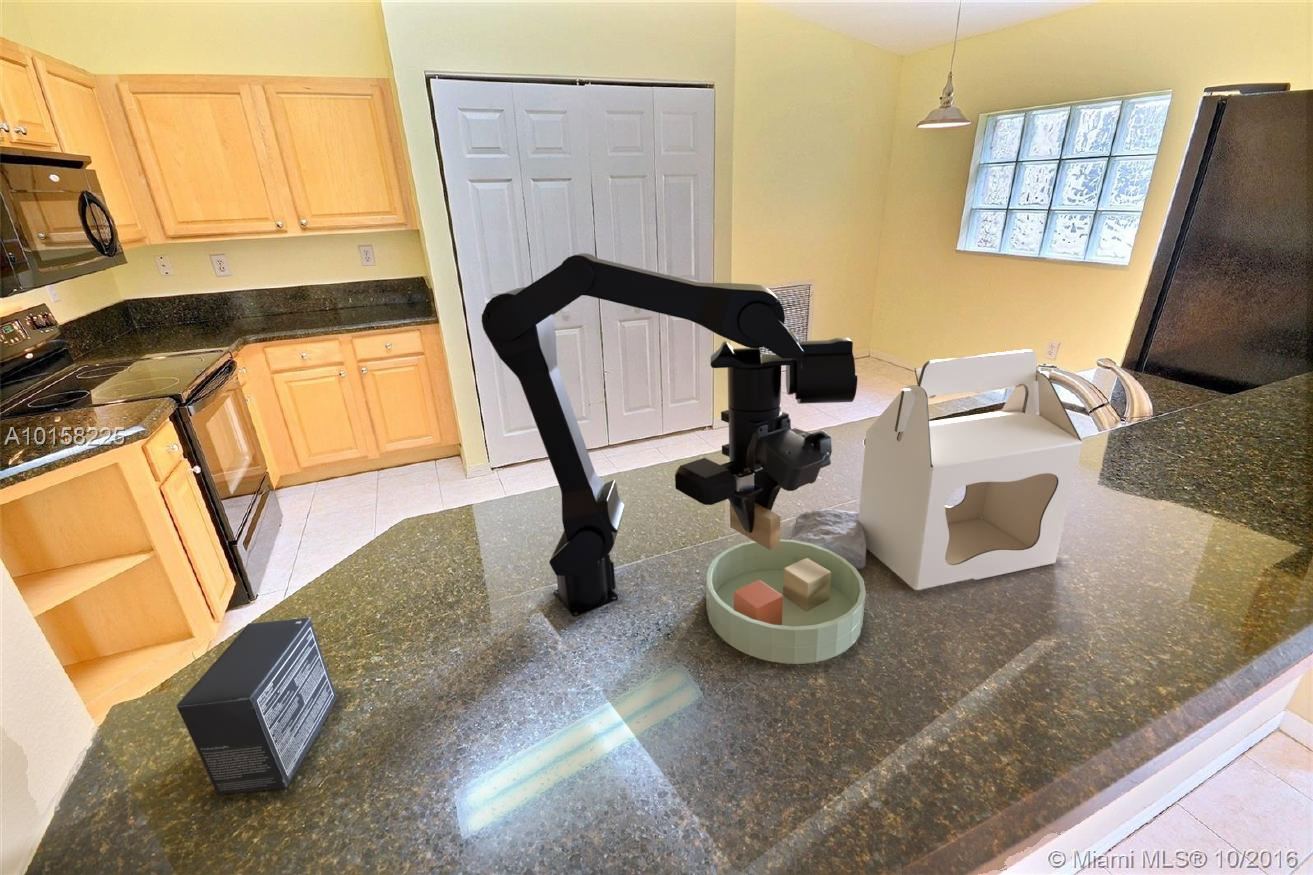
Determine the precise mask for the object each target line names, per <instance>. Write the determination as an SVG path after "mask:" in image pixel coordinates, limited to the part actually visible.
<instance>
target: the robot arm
mask: <svg viewBox="0 0 1313 875" xmlns="http://www.w3.org/2000/svg"><path fill="white" fill-rule="evenodd" d="M583 296H585V297H590V298H595V299H599V300H602V301H603V300H604V301H606V302H607V301H608V302H613V303H616V304H620V305H624V306H628V307H633V308H638V309H640V310H644V311H649V312H653V313H658V314H662V315H666V316H670V317H675V318H678V319H683V320H687V321H690V322H693V323H694V324H697V325H699V326H701V327H703V328H705V329H706V330H709V331H710V332H712V333H714V334H716V335H718V336H720V337H722V338H724V339H727V340H730V341H732V342H734V343H736V344H738V345H740V346H743V347H741V348H739V347H737V348H734V347H733V346H731V344H729V342H728V341H726V340H724V341H723V342H722V343H721V345H720V347H719V348H718V349H717V350H716V351H715V352H714V353H712V354H711V356H710V367H711V369H712V368H713V369H727V407H728V409H726V410H721V411H720V420H721V421H722V422H725V423H728V443H725V444H723V445H721V455H723V456H726V457H728V458H729V461H727V462H725V463H722V464H720V463H717V462H714V461H712V460H710V459H709V458H706V457H702V458H700V459H697V460H693V461H689V462H687V463H684V464H681V465H679V467H678V468H677V469H676V470H675V473H674V486H675V490H677V491H679V492H680V493H683V494H684V495H686V496H687V497H689V498H690V499H692V500H694V501H697V502H698V503H699V504H701V505H703V506H713V505H715V504H718V503H720V502H723V501H726V500H728V501H729V504H730V503H731V505H732V507H733V509H734V511H735V513H736V515H737V517H738V519H739V521H740V523H741V525H742V526H743V528H744V530H745V531H746V532H748V533H752V532H753V526H754V510H755V503H757V504H759V505H761V506H763V507H765V508H767V509H768V510H770V511H772V509H773V507H774V504H775V502H776V499H777V497H778V495H779V493H780V491H781V489H783V490H785V491H787V492H794V491H796V490H798V489H799V488H801V487H804V486H806V485H809V484H814V483H815V482H816V481H817V478H818V476H819V474H820V471H821V469H823V468H826V467H828V466H830V465H831V464H832V460H831V458H830V457H831V456H832V452H833V449H832V448H833V447H832V446H833V445H832V436H831V435H830V434H828V432H826V431H824V430H822V429H821V430H818V431H815V432H808V431H805V430H802V429H799V428H796V427H794V428H792V420H791V418H790V414H789V413H787V412H785V411H782V402H781V401H782V366H784V367H785V388H786V394H787V395H788V396H791V395H794V396H795V397H794V398H795V400H796V403H797V404H798V405H801V404H802V405H804V404H835V403H836V404H837V403H838V404H839V403H840V404H841V403H853V402H854V400H855V398H856V394H857V390H858V389H857V388H858V374H856V363H855V356H854V352H853V350H854V342H853V341H852V340H851V339H850V338H849V337H834V338H831V339H822V340H799V338H798V336H797V335H796V333H795V331H793V330H789V329H788V328H787V326H786V325H785V320H786V313H785V309H784V306H783V305H782V303H781V302H780V301H781V300H780V299H778V297H777V296H776V295H775V293H773V291H772V290H770V289H769V288H768V287H766V286H764V285H761V284H754V283H738V282H737V283H736V282H700V281H694V280H690V279H687V278H681V277H678V276H673V275H669V274H665V273H661V272H656V271H653V270H648V269H644V268H640V267H636V266H632V265H629V264H628V265H627V264H623V263H620V262H615V261H611V260H606V259H603V258H598V257H596V256H594V255H593V254H591V253H583V252H582V253H577V254H574V255H570V256H568V257H567V258H565V259H564V260H563V261H562V262H561V264H560V265H558V266H557V267H555V268H554V269H552V270H551V271H549V272H548V273H546V274H544V275H543V276H541V277H540V278H538V279H537V280H535V281H534V282H532V283H531V284H528V286H523V287H517V288H514V289H511V290H508V291H505V292H503V293H500V294H497V295H496V296H494V297H492V298H491V299H490V300H488V302H487V303H486V305H485V307H484V309H483V311H482V314H481V325H482V329H483V331H484V333H485V336H486V337H487V339H488V341H489V342H490V344H491V346H492V347H493V349H494V351H495V352H496V354H497V356H498V358H499V359H500V361H502V363H503V364H505V366H506V367H507V368H508V369H509V370H510V371H511V372H512V373H513V374H514V375H515V376H516V378H517V379H518V381H519V383H520V386H521V388H522V390H523V394H524V396H525V399H526V401H527V404H528V406H529V409H530V412H531V414H532V418H533V420H534V423H535V425H536V428H537V430H538V433H539V436H540V438H541V441H542V444H543V447H544V449H545V452H546V454H547V457H548V459H549V460H548V461H549V462H550V464H551V467H552V470H553V473H554V475H555V476H554V477H555V478H556V480H557V483H558V486H559V489H560V493H561V519H562V520H561V522H562V526H563V532H562V534H561V536H560V537H559V538H560V539H558V540H559V541H558V543H557V545H556V547H555V549H554V551H553V553H552V555H551V557H550V559H549V562H548V563H549V565H550V567H551V569H552V570H553V572H554V574H555V576H556V584H557V589H556V590H554V591H553V594H554V595H555V597H556V598H557V599H558V600H559V601H560V603H561V604H562V605H563V607H564V608H565V609H566V610H567V611H568V612H569V614H570V615H571V616H572V617H579V616H581V615H584V614H585V613H589V612H591V611H593V610H596V609H598V608H601V607H603V606H605V605H608V604H611V603H613V602H615V601H617V600H619V599H620V596H619V595H618V593H616V592H615V590H616V588H617V587H616V576H615V575H616V574H615V562H614V561H613V560H612V559H611V554H610V553H611V551H612V550H613V548H614V545H615V542H616V539H617V535H618V533H619V529H620V526H621V522H622V518H623V514H624V510H625V507H626V505H625V503H624V502H623V501H622V500H621V498H620V496H619V493H618V485H617V481H616V480H615V479H613V480H610V481H608V482H606V483H605V482H604V481H603V480H602V479H601V477H599V476H598V474H597V473H596V471H595V468H594V465H593V462H592V460H591V457H590V454H589V451H588V448H587V445H586V442H585V440H584V437H583V435H582V432H581V428H580V426H579V423H578V420H577V418H576V414H575V412H574V409H573V406H572V403H571V401H570V398H569V395H568V392H567V389H566V387H565V384H564V380H563V378H562V375H561V373H560V372H561V371H560V369H559V366H558V360H557V334H556V328H555V327H556V326H555V322H554V315H555V314H557V313H559V312H560V311H562V310H563V309H564V308H566V307H567V306H569V305H570V304H572V303H573V302H574V301H576V300H577V299H579V298H580V297H583ZM760 348H764V349H766V350H768V351H769V352H771V353H772V354H767V353H765V354H764V353H761V349H760ZM614 597H616V598H614Z"/></svg>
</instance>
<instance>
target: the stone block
mask: <svg viewBox="0 0 1313 875" xmlns="http://www.w3.org/2000/svg"><path fill="white" fill-rule="evenodd" d="M858 520H859V511H851V510H850V511H848V510H844V509H835V508H819V509H813V510H808V511H804V513H800V514H798V515H797V516H796V518H795V523H794V525H793V529H792V531H791V538H790V540H796V541H801V542H806V543H810V544H814V545H817V546H819V547H822V548H825V549H828V550H830V551H832V552H834V553H835V554H837V555H839V556H841V557H843V558H844V559H846V560H847V561H848V562H849V563H850V564H851V565H853V566H854V567H855V568H856V569H857V570H863V569H864V568H865V567H866V564H867V562H866V561H867V560H866V557H867V548H866V542H865V535H864V531H863V529H862V526H861V523H860V522H859V521H858Z"/></svg>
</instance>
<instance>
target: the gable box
mask: <svg viewBox="0 0 1313 875" xmlns="http://www.w3.org/2000/svg"><path fill="white" fill-rule="evenodd" d="M1037 359H1038V355H1037V352H1036V351H1035V350H1033V349H1022V350H1013V351H1006V352H1005V351H1004V352H996V353H988V354H987V353H986V354H978V355H969V356H962V357H961V356H960V357H953V358H951V357H950V358H944V359H943V358H942V359H935V360H934V359H933V360H929V361H927V362H925V363H924V364H923V366H922V367H914V374H915V379H916V384H909V385H907V386H905V387H904V388H902V389H901V391H900V392H899V394H897V396H896V397H895V398H894V399H893V400H892V402H890V404H888V406H887V407H886V408H885V409H884V411H883V412H882V413H881V414H880V415H879V416H878V417H877V419H875V421H874V422H873V423H872V424H871V425H870V426H869V428H868V429H867V430H866V431H865V438H864V439H865V440H864V451H863V454H864V455H863V463H862V474H861V487H860V498H859V510H858V512H859V520H858V521H859V522H860V523H861V526H862V529H863V531H864V535H865V542H866V550H868V551H869V552H870V553H871V554H872V555H873V556H875V557H876V558H877V559H878V560H879V561H880V562H882V563H883V564H884V565H885V566H886V567H887V568H888V569H890V570H891V571H892V572H893V573H894V574H895V575H897V576H898V577H899V578H900V579H901V580H903V581H904V582H905V583H906V584H907V585H908V586H909V587H910V588H912V589H913V590H914V591H920V590H924V589H930V588H934V587H938V586H944V585H948V584H952V583H957V582H962V581H967V580H972V579H973V580H976V581H977V580H983V579H987V578H991V577H997V576H1002V575H1006V574H1010V573H1014V572H1019V571H1023V570H1024V571H1025V570H1028V569H1029V570H1030V569H1034V568H1038V567H1042V566H1043V567H1044V566H1048V565H1052V564H1056V562H1057V558H1058V553H1059V548H1060V546H1061V545H1060V544H1061V540H1062V535H1063V531H1064V528H1065V523H1066V518H1067V513H1068V509H1069V506H1070V500H1071V496H1072V491H1073V487H1074V483H1075V479H1076V473H1077V471H1078V466H1079V461H1080V456H1081V452H1082V449H1083V448H1082V447H1083V441H1082V438H1081V436H1080V434H1079V433H1078V431H1077V429H1076V427H1075V425H1074V423H1073V421H1072V420H1071V417H1070V415H1069V413H1068V412H1067V409H1066V407H1065V406H1064V404H1063V402H1062V400H1061V398H1060V396H1059V394H1058V392H1057V391H1056V388H1055V387H1054V385H1053V383H1052V381H1051V380H1050V371H1039V370H1037V361H1038V360H1037ZM1004 388H1013V389H1012V391H1011V393H1010V395H1009V397H1008V399H1006V402H1005V403H1004V404H1003V406H1002V409H1001V410H1000V411H994V412H993V411H992V412H986V413H979V414H972V415H965V416H958V417H950V418H943V419H937V420H936V419H935V420H930V410H929V399H934V398H936V397H943V396H944V397H945V396H953V395H958V394H967V393H974V392H981V391H989V390H997V389H1004ZM963 487H965V493H964V496H963V499H962V500H961V501H960V502H959V503H958V504H955V505H950V506H948V505H947V502H948V500H949V498H950V497H951V496H952V495H953V493H955V492H956V491H957V490H959V489H961V488H963Z"/></svg>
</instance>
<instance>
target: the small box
mask: <svg viewBox="0 0 1313 875" xmlns="http://www.w3.org/2000/svg"><path fill="white" fill-rule="evenodd" d="M338 698H339V697H338V695H337V692H336V689H335V686H334V684H333V681H332V679H331V676H330V673H329V670H328V667H327V664H326V661H325V659H324V654H323V652H322V649H321V646H320V643H319V640H318V637H317V634H316V631H315V628H314V625H313V621H312V619H311V617H310V616H306V617H298V618H288V619H279V620H269V621H261V622H259V621H258V622H251V623H247V625H246V626H245V627H244V628H243V629H242V630H241V632H240V633H239V634H238V635H237V636H236V637H235V638H234V640H233V641H232V642H231V643H230V644H229V645H228V647H226V649H225V650H224V651H223V652H222V653H221V655H219V657H218V658H217V659H216V660H215V661H214V662H213V663H212V665H210V667H209V668H208V669H207V670H206V672H205V673H204V674H203V675H201V677H200V678H199V679H198V681H197V682H196V683H195V684H194V685H193V686H192V688H190V690H189V691H188V692H186V694H185V695H184V696H183V698H181V700H180V701H179V702H178V703H177V704H176V706H175V707H176V708H177V710H178V712H179V715H180V716H181V719H182V721H183V723H184V725H185V728H186V729H187V732H188V734H189V736H190V738H191V740H192V742H193V745H194V746H195V749H196V751H197V753H198V756H199V757H200V760H201V762H202V764H203V766H204V768H205V770H206V773H207V775H208V778H209V779H210V782H211V784H212V786H213V788H214V791H215V793H216V795H218V796H222V795H233V794H242V793H251V792H261V791H272V790H281V789H286V788H288V786H290V783H291V782H292V780H293V778H294V777H295V775H296V773H297V771H298V769H299V767H300V766H301V765H302V762H303V760H304V759H305V757H306V755H307V753H308V752H309V750H310V748H311V747H312V744H313V743H314V741H315V739H316V737H317V736H318V735H319V732H320V730H321V728H322V727H323V725H324V724H325V721H326V720H327V718H328V716H329V715H330V712H331V711H332V709H333V707H334V705H335V704H336V702H337V700H338Z"/></svg>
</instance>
